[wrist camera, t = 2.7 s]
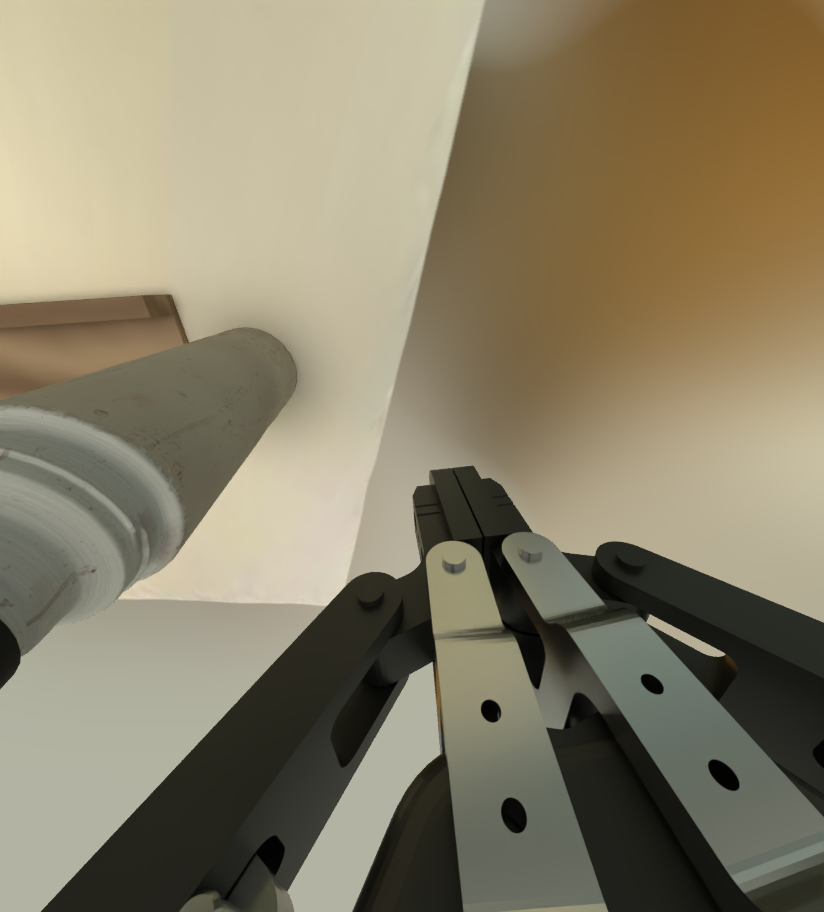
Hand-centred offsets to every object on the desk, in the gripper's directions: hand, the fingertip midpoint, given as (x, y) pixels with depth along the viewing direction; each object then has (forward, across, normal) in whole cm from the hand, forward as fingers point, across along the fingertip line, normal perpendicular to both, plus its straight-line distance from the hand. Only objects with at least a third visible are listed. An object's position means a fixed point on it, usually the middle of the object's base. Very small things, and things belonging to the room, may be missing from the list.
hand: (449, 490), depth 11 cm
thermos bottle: (+24, +14, 0) cm, 28 cm away
